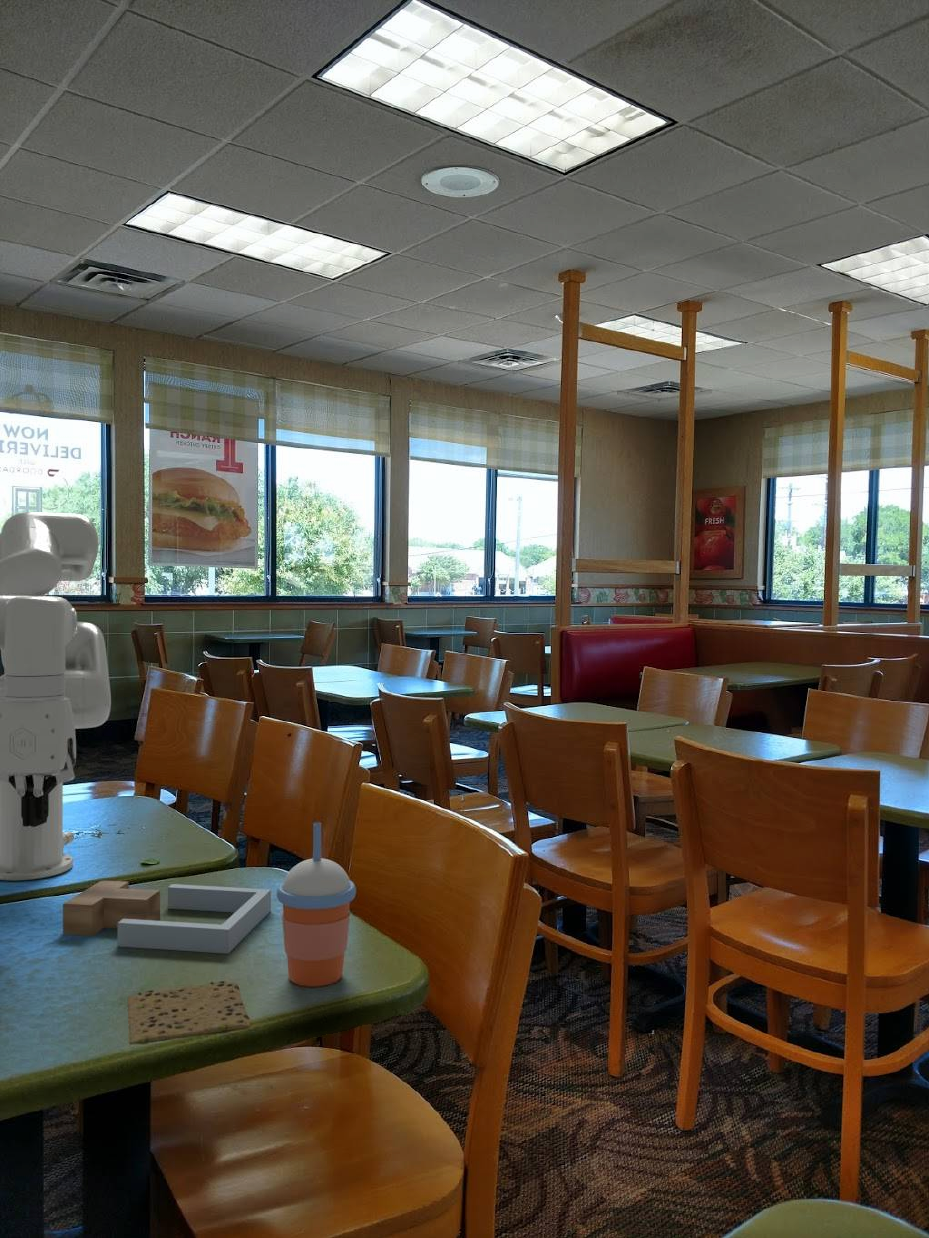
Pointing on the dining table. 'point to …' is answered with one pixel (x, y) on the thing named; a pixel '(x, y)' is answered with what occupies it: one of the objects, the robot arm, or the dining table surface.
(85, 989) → the dining table surface
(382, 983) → the dining table surface
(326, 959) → the cup with straw
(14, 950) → the dining table surface
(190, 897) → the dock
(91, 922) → the t block
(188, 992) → the cookie
